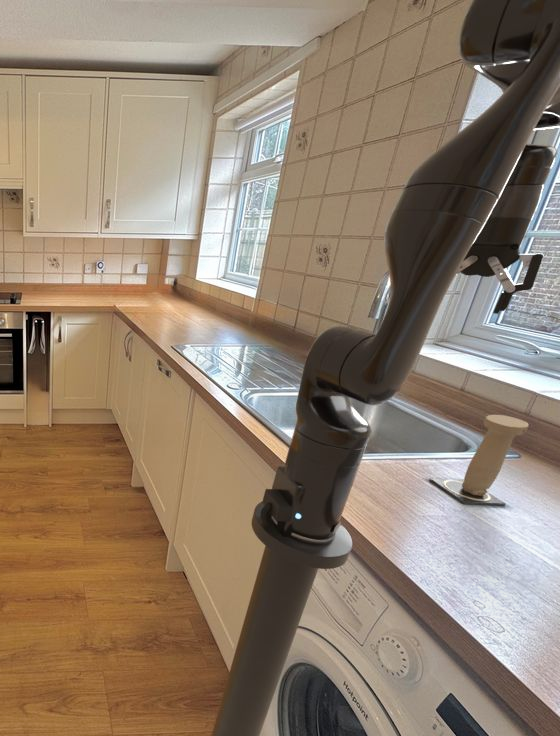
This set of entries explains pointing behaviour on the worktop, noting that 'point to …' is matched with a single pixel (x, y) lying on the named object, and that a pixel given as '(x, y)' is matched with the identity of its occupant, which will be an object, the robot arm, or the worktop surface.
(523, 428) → the handle
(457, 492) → the slate board
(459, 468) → the worktop surface
